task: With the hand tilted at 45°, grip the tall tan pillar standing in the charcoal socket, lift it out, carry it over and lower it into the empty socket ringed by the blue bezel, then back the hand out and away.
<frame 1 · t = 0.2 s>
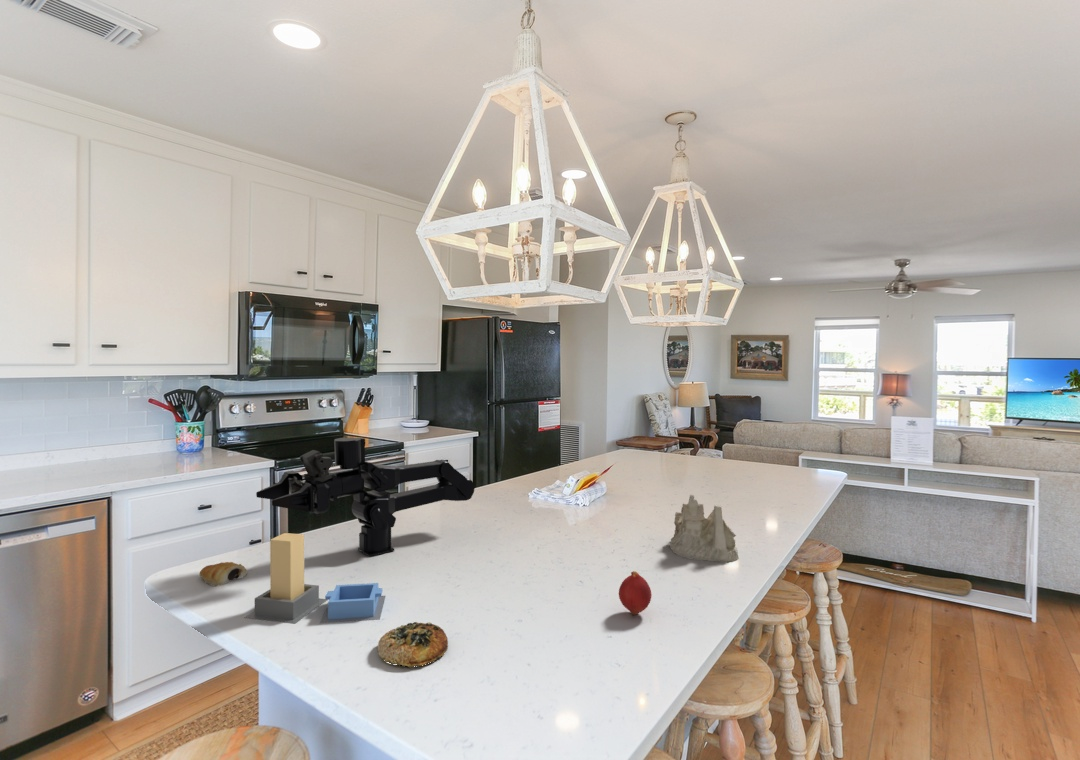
hand: (264, 498, 116), 17 cm above the kitchen island, tool horizontal, fingers open, 9 cm apart
grey sandcastle model: (703, 551, 138), on the kitchen island
tall tan pillar: (287, 608, 102), point 1 cm above the kitchen island, touching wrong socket
pastry: (222, 581, 116), on the kitchen island
blue bezel socket: (354, 611, 102), on the kitchen island
bread roll: (412, 653, 89), on the kitchen island
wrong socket: (287, 611, 102), on the kitchen island
onion: (634, 615, 102), on the kitchen island
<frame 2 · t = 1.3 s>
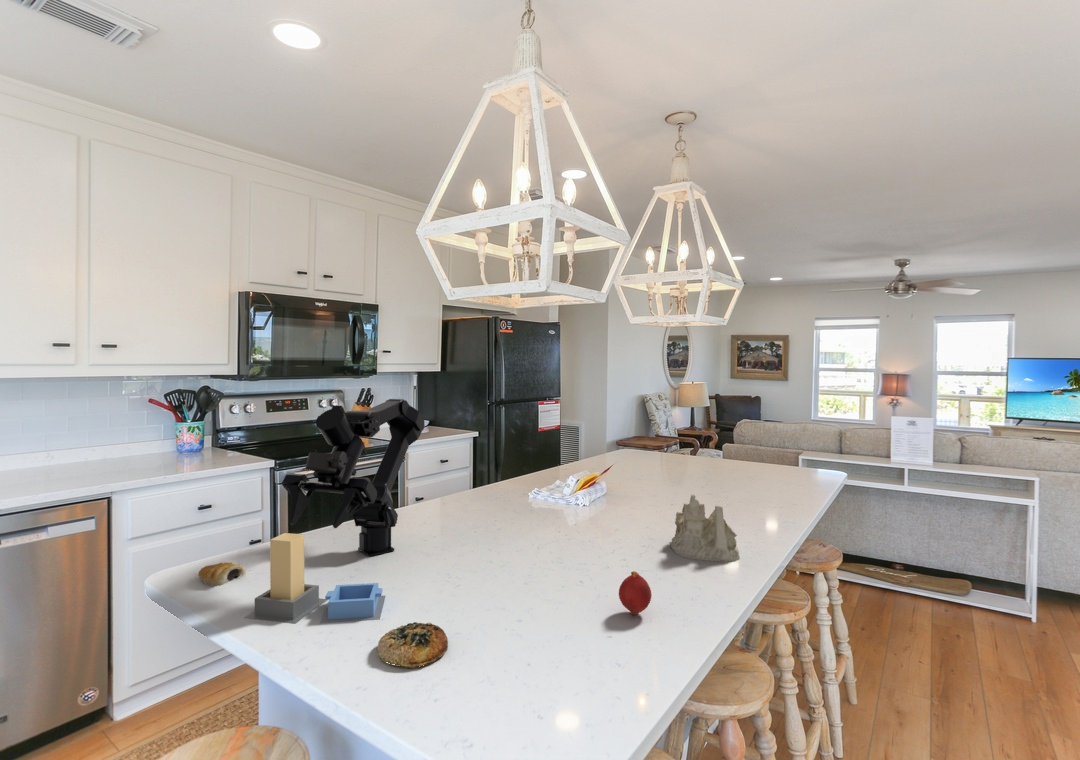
hand: (312, 525, 109), 13 cm above the kitchen island, tool tilted 45°, fingers open, 9 cm apart
nothing on the kitchen island moved.
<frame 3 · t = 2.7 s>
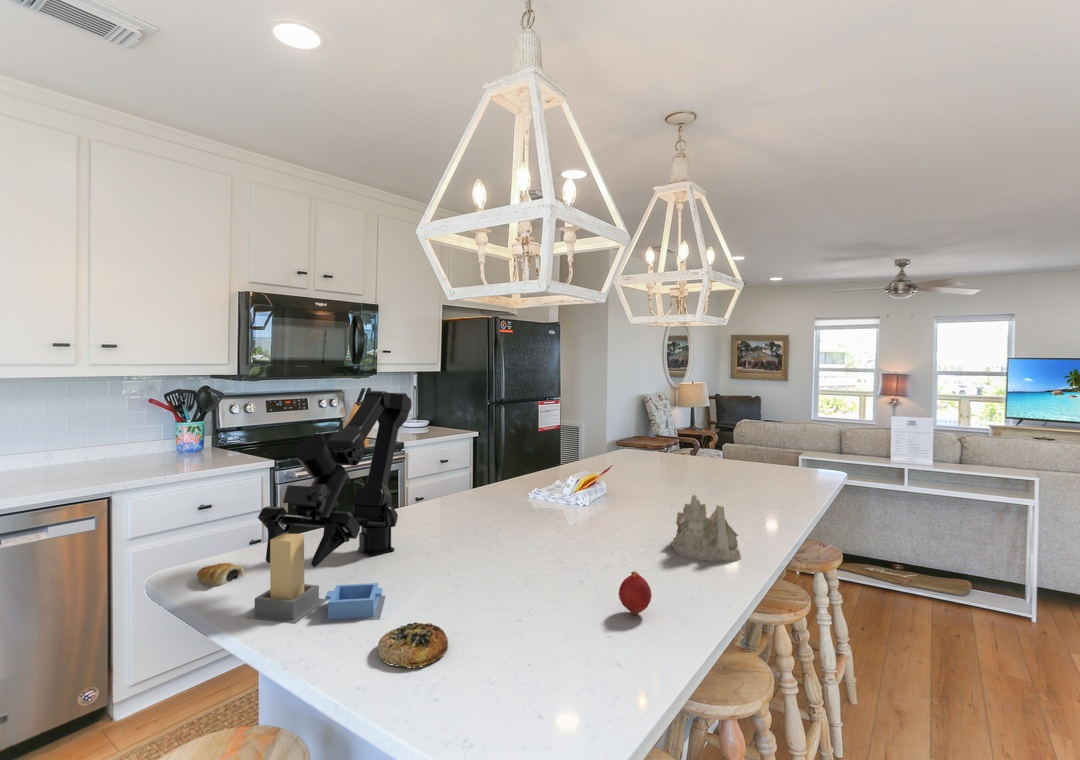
hand: (290, 564, 102), 8 cm above the kitchen island, tool tilted 45°, fingers open, 9 cm apart
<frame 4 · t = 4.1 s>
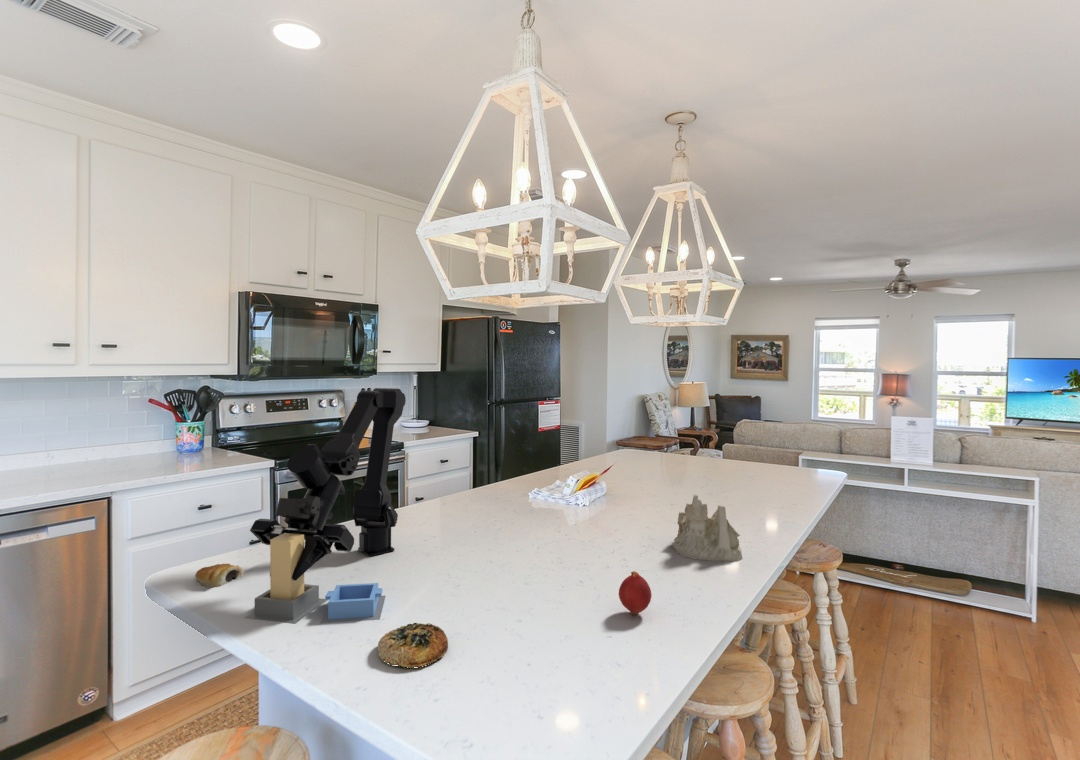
hand: (282, 578, 100), 7 cm above the kitchen island, tool tilted 45°, fingers closed on tall tan pillar, 4 cm apart
tall tan pillar: (287, 608, 102), point 1 cm above the kitchen island, touching gripper, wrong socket
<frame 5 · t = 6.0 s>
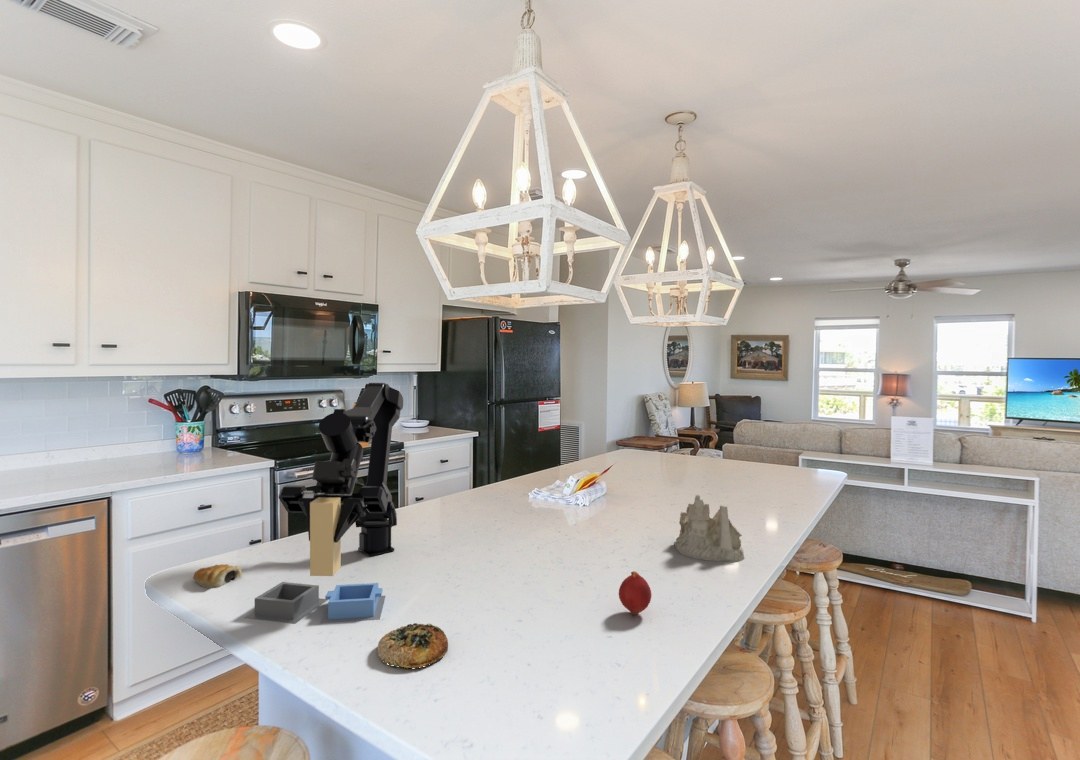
hand: (322, 541, 99), 13 cm above the kitchen island, tool tilted 45°, fingers closed on tall tan pillar, 4 cm apart
tall tan pillar: (325, 571, 101), point 8 cm above the kitchen island, touching gripper
when the fingers open (8 cm above the kitchen island, at t = 8.1 s): tall tan pillar drops 1 cm, resting on blue bezel socket.
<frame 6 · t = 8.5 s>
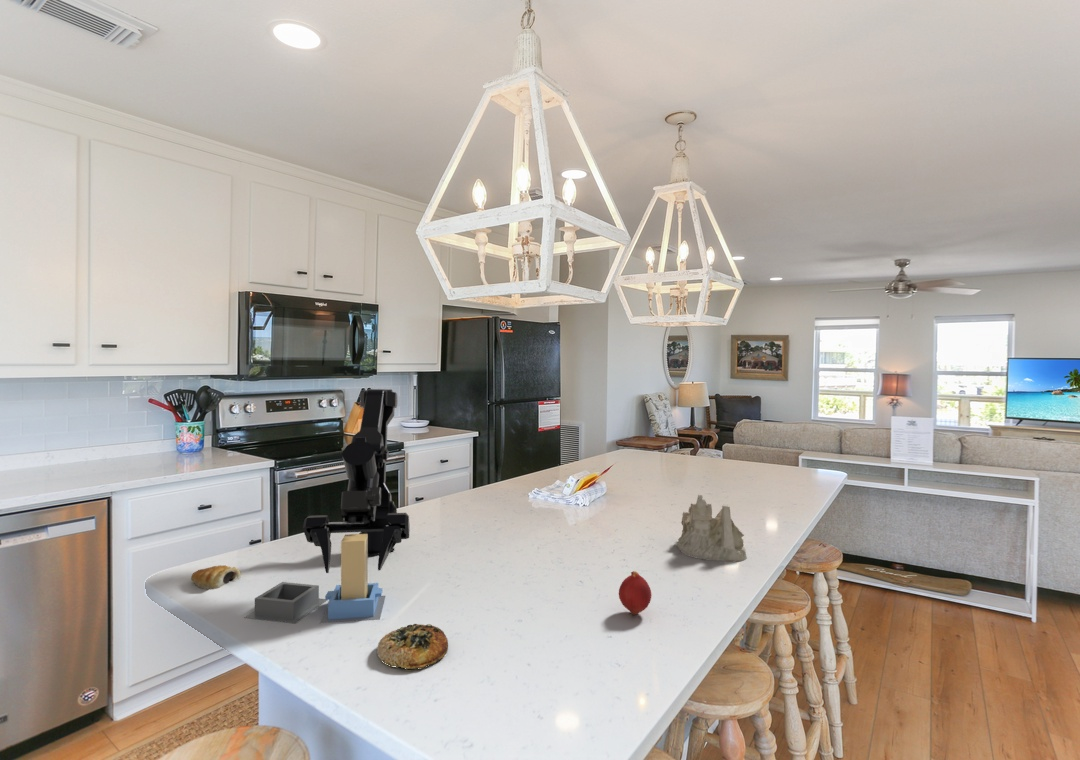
hand: (353, 570, 100), 8 cm above the kitchen island, tool tilted 45°, fingers open, 9 cm apart
tall tan pillar: (354, 608, 102), point 1 cm above the kitchen island, touching blue bezel socket
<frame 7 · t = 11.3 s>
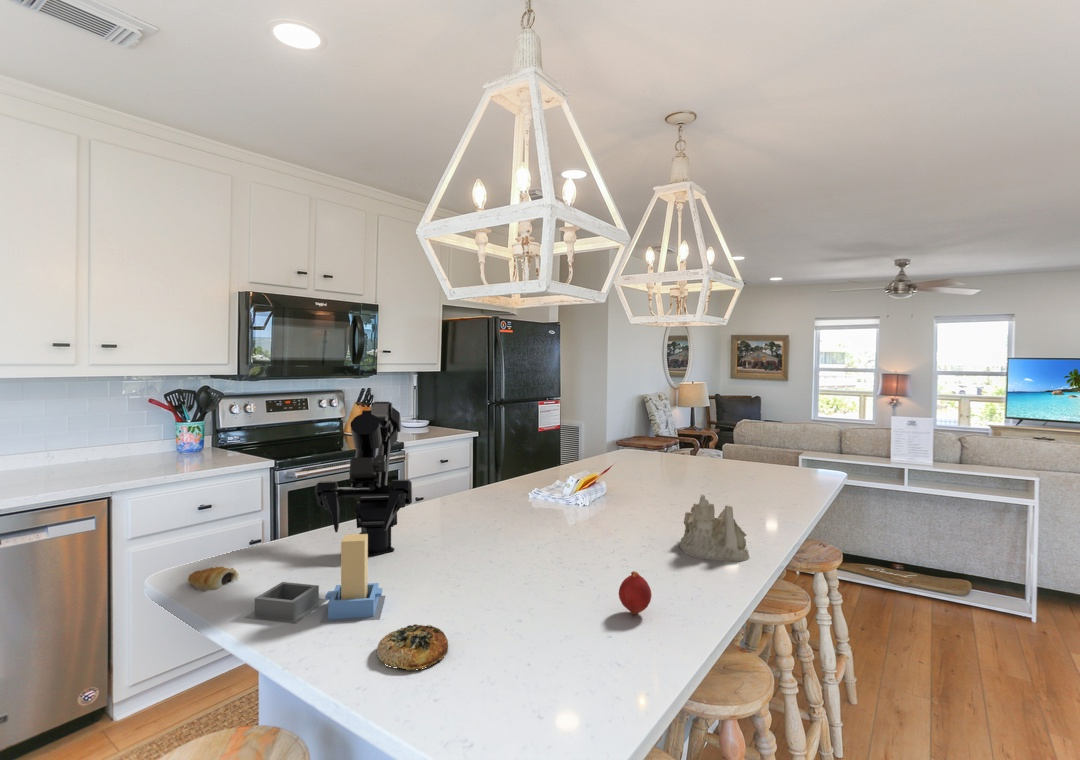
hand: (360, 530, 109), 13 cm above the kitchen island, tool tilted 45°, fingers open, 9 cm apart
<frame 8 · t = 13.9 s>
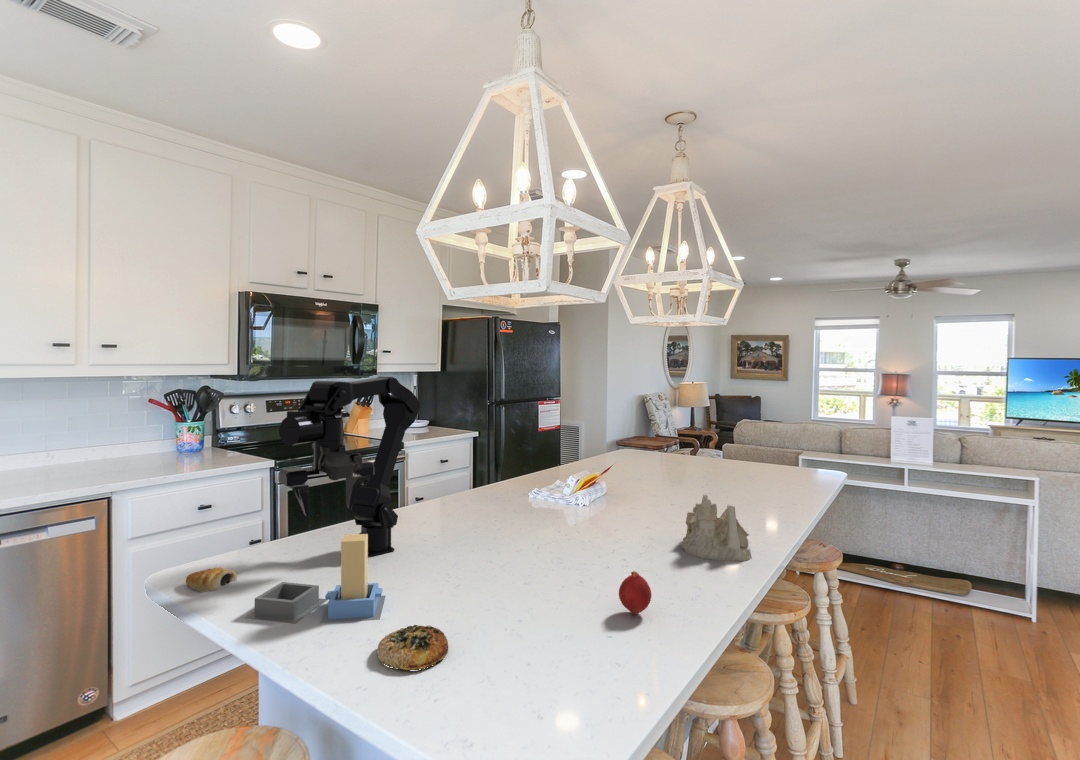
hand: (328, 512, 120), 13 cm above the kitchen island, tool pointing down, fingers open, 9 cm apart
at the end: tall tan pillar 0.0 cm off-centre on the blue bezel socket, point 0.6 cm above the blue bezel socket's base; tall tan pillar tilted 0°; the gripper is holding nothing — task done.
